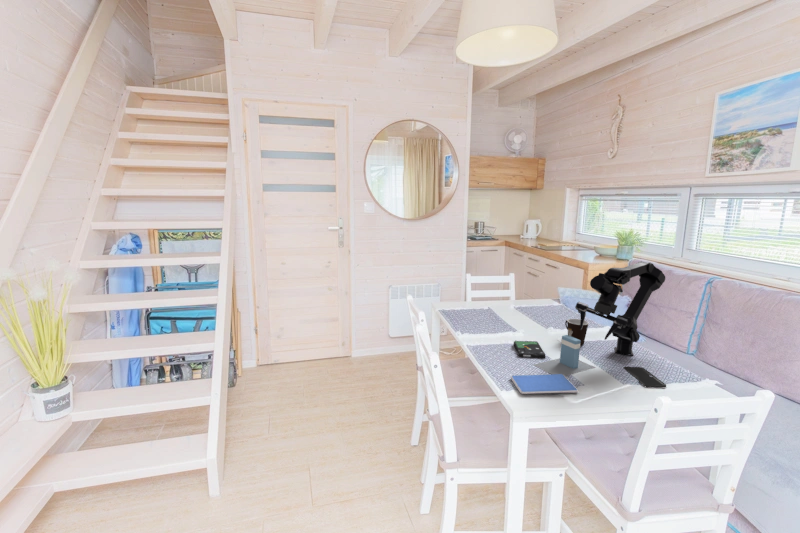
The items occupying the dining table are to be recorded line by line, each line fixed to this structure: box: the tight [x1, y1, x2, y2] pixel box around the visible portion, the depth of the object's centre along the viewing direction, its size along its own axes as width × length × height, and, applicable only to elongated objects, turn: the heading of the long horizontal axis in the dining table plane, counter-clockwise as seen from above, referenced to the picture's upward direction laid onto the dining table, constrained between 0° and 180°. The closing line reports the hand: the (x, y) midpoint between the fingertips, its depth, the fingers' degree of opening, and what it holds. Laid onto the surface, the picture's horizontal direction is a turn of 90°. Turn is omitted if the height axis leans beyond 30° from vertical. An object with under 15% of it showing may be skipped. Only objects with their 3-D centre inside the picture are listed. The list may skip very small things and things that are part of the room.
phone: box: [622, 366, 667, 388], centre depth 143 cm, size 8×1×15 cm
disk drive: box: [513, 340, 546, 359], centre depth 166 cm, size 10×3×15 cm
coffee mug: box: [564, 318, 589, 347], centre depth 177 cm, size 12×9×10 cm
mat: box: [533, 357, 596, 377], centre depth 151 cm, size 20×12×1 cm, turn 116°
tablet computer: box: [510, 373, 579, 395], centre depth 136 cm, size 19×13×1 cm, turn 91°
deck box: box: [559, 334, 581, 369], centre depth 151 cm, size 3×6×11 cm, turn 26°
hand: (592, 334), depth 154 cm, fingers open, 9 cm apart
